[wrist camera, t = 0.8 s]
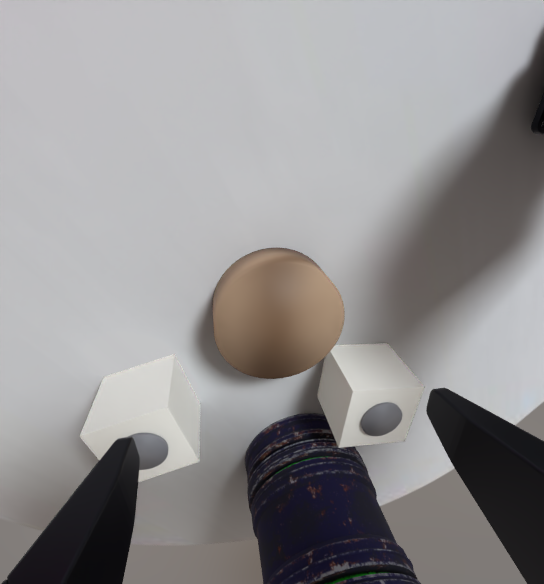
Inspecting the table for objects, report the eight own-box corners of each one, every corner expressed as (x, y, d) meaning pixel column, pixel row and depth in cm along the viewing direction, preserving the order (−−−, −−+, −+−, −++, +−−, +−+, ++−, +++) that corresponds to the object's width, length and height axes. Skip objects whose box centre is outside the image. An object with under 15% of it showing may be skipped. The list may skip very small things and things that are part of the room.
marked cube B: (174, 353, 23) (167, 410, 18) (200, 403, 25) (199, 465, 20) (104, 376, 22) (77, 440, 18) (136, 424, 25) (120, 492, 20)
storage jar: (238, 423, 27) (271, 714, 13) (354, 402, 28) (487, 647, 15) (249, 498, 31) (281, 771, 18) (347, 477, 32) (445, 716, 19)
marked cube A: (387, 342, 26) (427, 389, 21) (373, 392, 28) (406, 444, 23) (326, 344, 25) (354, 394, 20) (316, 395, 27) (340, 450, 22)
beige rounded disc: (337, 248, 22) (356, 265, 19) (318, 349, 25) (332, 375, 22) (213, 244, 20) (214, 262, 17) (211, 353, 23) (212, 382, 21)
